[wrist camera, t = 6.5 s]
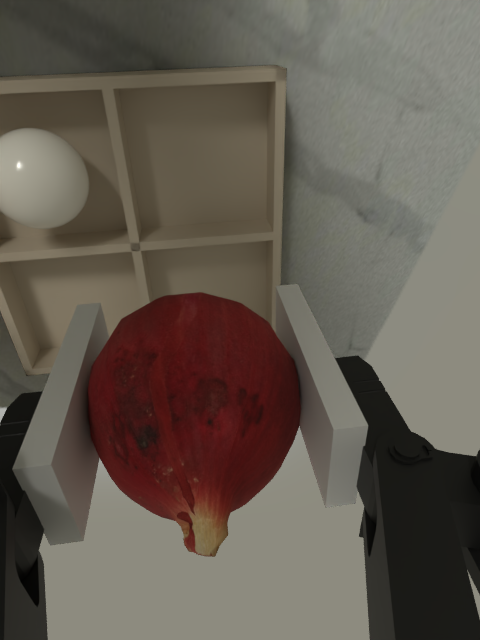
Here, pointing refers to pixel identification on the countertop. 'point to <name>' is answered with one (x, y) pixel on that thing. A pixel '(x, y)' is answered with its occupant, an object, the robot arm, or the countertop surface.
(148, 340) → the onion
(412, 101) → the countertop surface
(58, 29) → the countertop surface
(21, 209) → the ceramic egg
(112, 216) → the wooden tray
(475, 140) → the countertop surface
